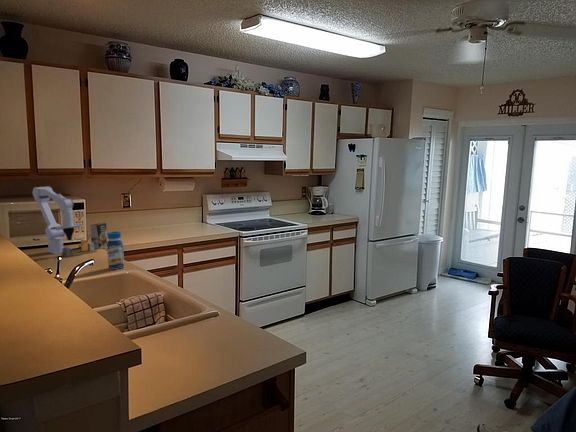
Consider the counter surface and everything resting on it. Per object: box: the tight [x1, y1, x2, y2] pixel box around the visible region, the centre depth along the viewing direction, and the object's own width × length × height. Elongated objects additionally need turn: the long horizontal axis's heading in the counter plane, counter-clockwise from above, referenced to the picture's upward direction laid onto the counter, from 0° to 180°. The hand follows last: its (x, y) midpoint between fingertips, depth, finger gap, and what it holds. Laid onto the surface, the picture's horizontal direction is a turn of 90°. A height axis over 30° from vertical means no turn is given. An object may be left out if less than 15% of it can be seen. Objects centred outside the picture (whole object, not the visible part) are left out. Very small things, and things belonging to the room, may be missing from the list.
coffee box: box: [89, 222, 108, 250], centre depth 292 cm, size 9×6×16 cm
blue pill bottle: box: [106, 230, 125, 270], centre depth 237 cm, size 8×8×20 cm
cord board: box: [61, 241, 98, 258], centre depth 275 cm, size 9×18×6 cm, turn 142°
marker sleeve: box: [78, 239, 88, 251], centre depth 277 cm, size 4×4×7 cm
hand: (69, 240), depth 272 cm, fingers closed
